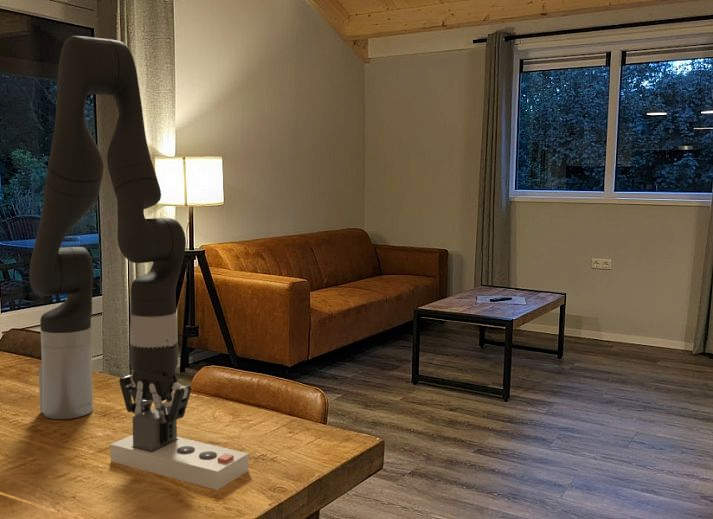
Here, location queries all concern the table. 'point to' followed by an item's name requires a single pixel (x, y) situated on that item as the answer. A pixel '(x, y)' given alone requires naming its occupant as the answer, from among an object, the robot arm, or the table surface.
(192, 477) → the power strip
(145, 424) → the charcoal plug
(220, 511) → the table surface
